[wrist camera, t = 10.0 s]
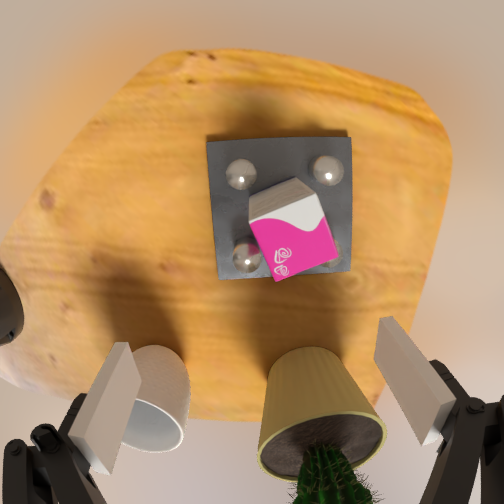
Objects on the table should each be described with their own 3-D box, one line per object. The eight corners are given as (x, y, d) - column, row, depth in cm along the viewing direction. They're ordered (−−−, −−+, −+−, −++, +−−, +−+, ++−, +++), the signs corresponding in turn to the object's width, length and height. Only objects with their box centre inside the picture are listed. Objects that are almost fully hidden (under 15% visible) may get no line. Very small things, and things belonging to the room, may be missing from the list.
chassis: (219, 276, 38) (216, 292, 34) (207, 142, 33) (201, 141, 29) (347, 268, 38) (359, 282, 34) (348, 137, 33) (361, 136, 29)
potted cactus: (367, 382, 44) (433, 542, 16) (283, 420, 47) (302, 583, 18) (332, 314, 40) (421, 522, 12) (234, 363, 42) (226, 571, 14)
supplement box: (246, 196, 34) (246, 218, 23) (296, 175, 33) (319, 188, 22) (266, 242, 36) (275, 284, 25) (314, 222, 35) (343, 256, 24)
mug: (160, 408, 46) (143, 469, 33) (104, 373, 43) (74, 430, 31) (212, 361, 42) (202, 431, 30) (148, 317, 40) (116, 379, 27)
